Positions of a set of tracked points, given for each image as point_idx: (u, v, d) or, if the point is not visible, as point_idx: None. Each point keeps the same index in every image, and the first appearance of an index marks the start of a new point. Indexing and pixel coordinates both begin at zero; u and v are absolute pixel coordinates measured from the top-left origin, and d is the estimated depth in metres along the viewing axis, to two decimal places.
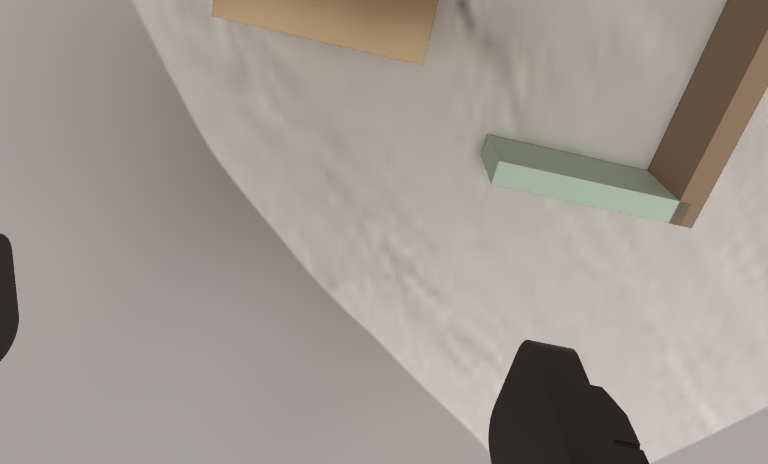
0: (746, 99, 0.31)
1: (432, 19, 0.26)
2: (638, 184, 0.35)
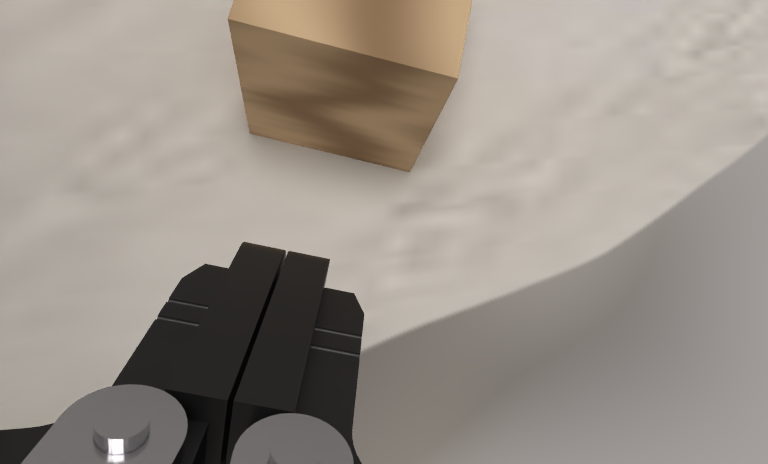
0: None
1: None
2: None
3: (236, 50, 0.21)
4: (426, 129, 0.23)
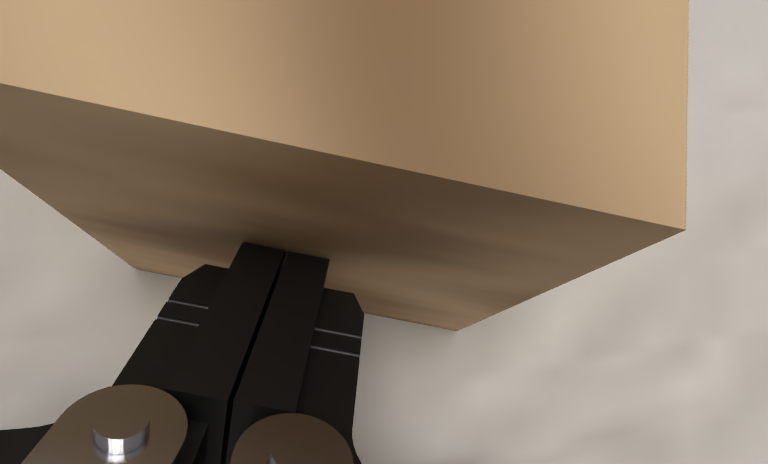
0: None
1: None
2: None
3: None
4: (516, 297, 0.10)
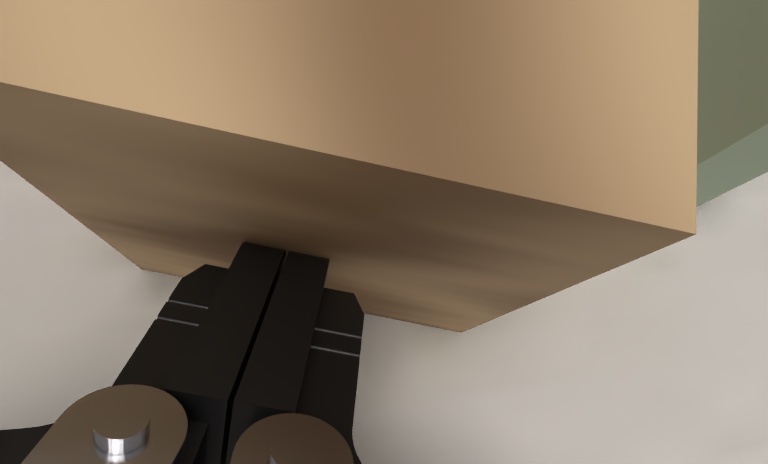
0: None
1: None
2: None
3: None
4: (522, 299, 0.10)
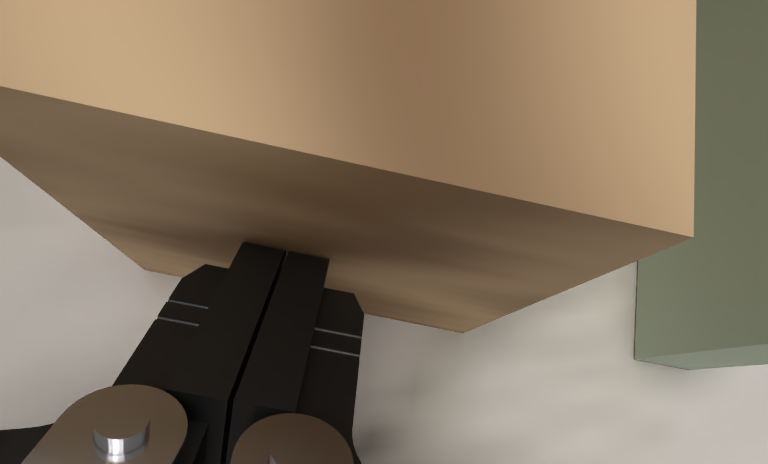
0: None
1: None
2: None
3: None
4: (524, 300, 0.10)
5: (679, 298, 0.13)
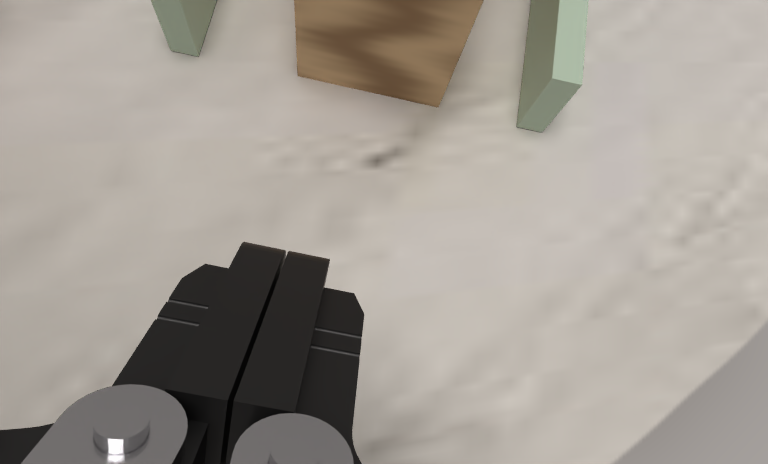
0: None
1: None
2: None
3: None
4: (455, 57, 0.27)
5: (530, 89, 0.31)
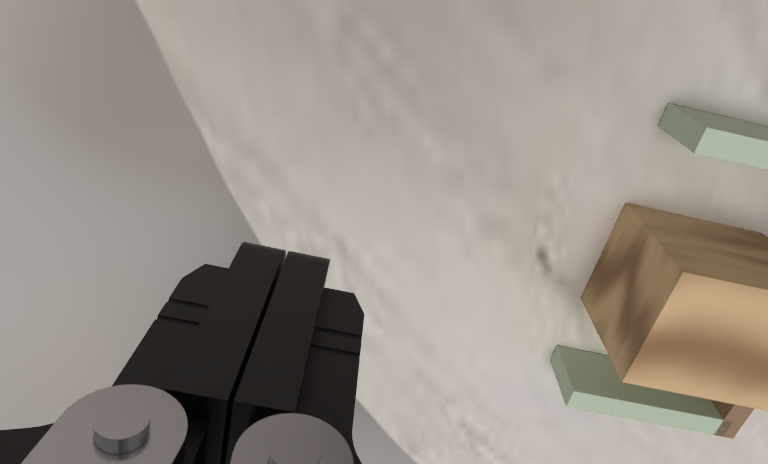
0: None
1: None
2: (688, 399, 0.42)
3: (668, 256, 0.32)
4: (601, 336, 0.38)
5: (579, 364, 0.42)
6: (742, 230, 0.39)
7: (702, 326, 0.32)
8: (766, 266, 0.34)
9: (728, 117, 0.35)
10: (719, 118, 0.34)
